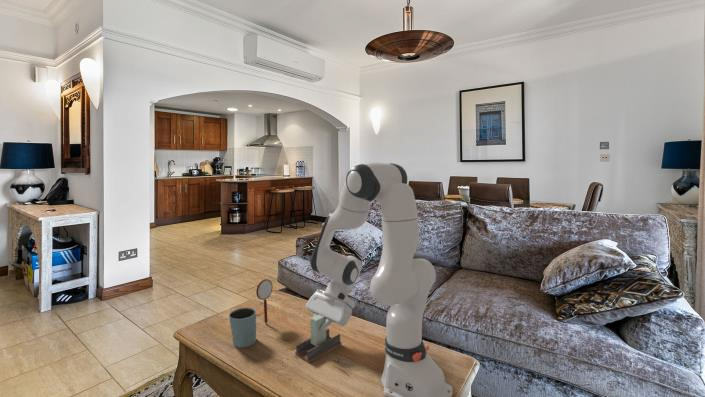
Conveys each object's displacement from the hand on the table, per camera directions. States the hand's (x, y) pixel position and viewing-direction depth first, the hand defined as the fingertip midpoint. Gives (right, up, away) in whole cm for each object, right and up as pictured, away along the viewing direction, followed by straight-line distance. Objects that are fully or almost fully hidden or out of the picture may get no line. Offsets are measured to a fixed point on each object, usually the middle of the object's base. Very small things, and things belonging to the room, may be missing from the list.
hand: (317, 328), depth 130 cm
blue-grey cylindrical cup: (-29, -8, +7) cm, 31 cm away
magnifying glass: (-24, -7, +22) cm, 33 cm away
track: (+1, -9, +1) cm, 9 cm away
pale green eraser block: (+1, -6, +1) cm, 6 cm away
